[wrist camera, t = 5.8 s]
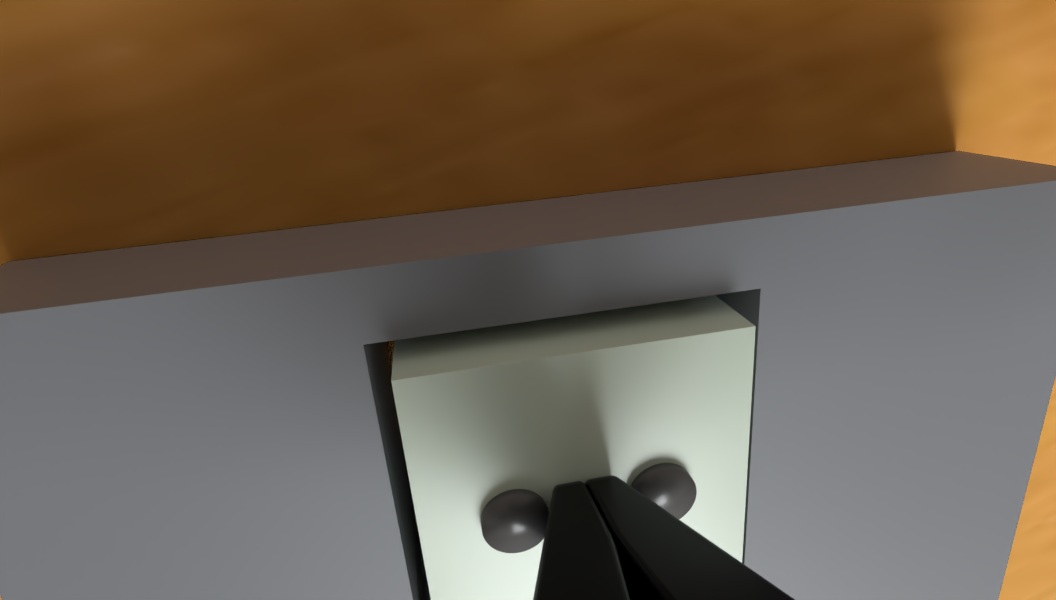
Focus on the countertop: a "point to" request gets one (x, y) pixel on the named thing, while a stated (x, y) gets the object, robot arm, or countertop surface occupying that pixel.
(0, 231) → the countertop surface
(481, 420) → the two-dot button
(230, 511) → the button board
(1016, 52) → the countertop surface
